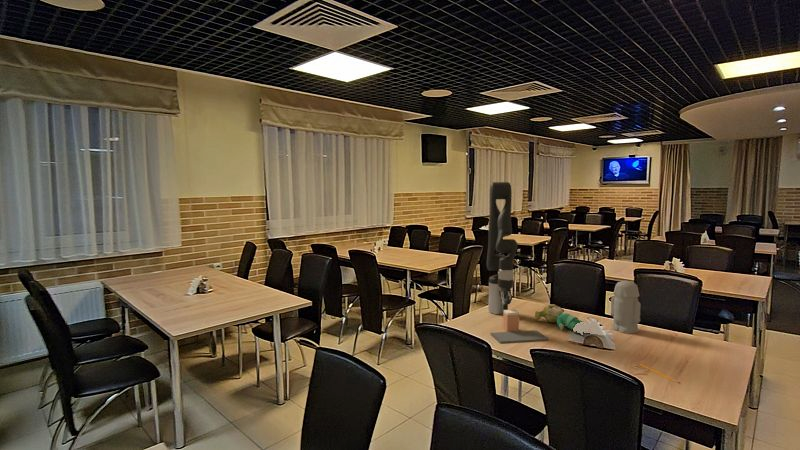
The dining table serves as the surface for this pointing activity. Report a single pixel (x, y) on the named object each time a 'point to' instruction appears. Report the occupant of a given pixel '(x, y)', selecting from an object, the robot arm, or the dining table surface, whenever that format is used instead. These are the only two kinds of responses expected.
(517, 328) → the block
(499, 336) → the mat
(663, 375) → the pencil
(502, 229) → the robot arm
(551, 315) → the toy
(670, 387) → the dining table surface
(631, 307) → the grey stone figurine
